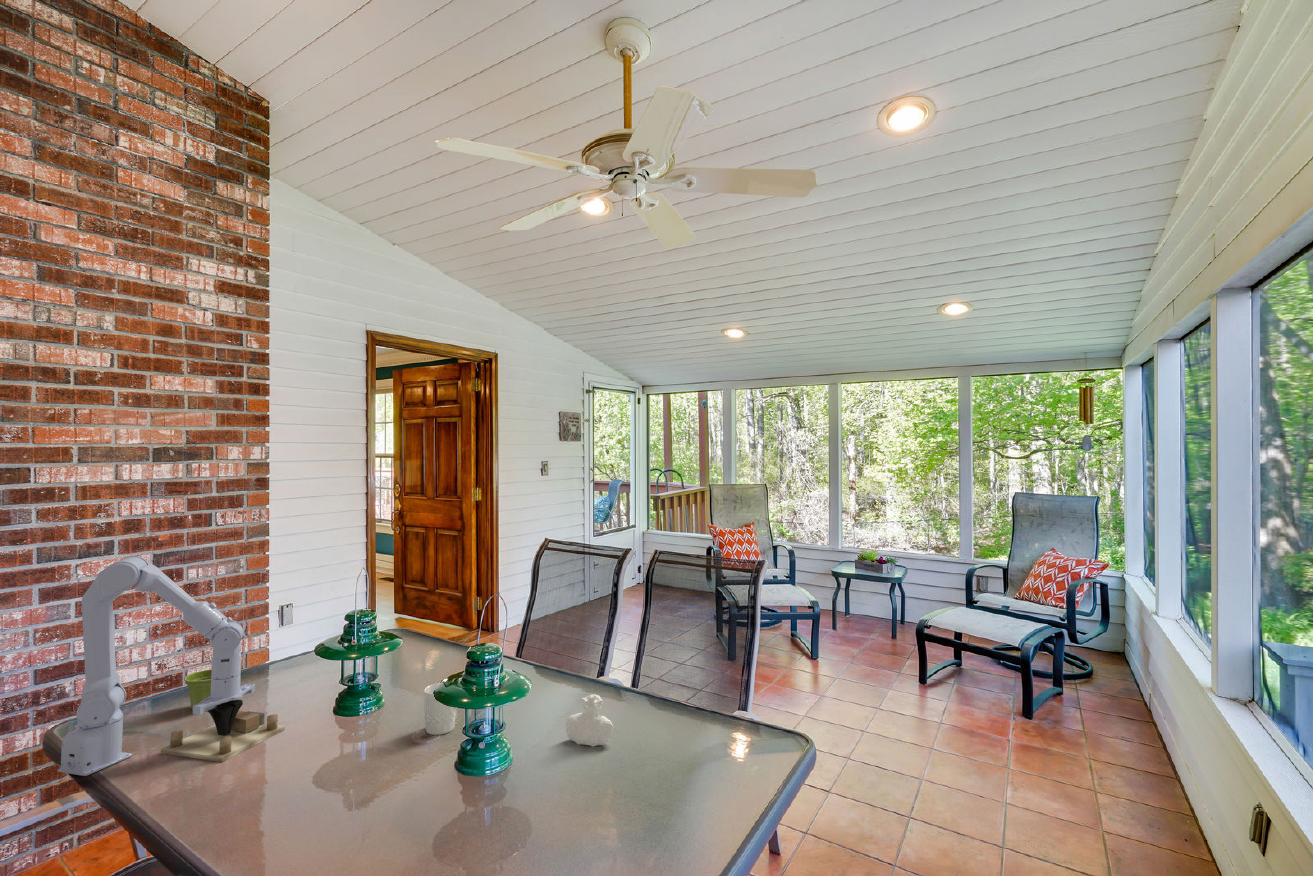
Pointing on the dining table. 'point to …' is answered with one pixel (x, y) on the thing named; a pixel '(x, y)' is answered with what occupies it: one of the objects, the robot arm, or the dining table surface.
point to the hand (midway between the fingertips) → (223, 734)
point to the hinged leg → (246, 721)
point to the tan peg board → (221, 741)
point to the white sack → (589, 724)
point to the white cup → (437, 714)
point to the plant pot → (199, 686)
